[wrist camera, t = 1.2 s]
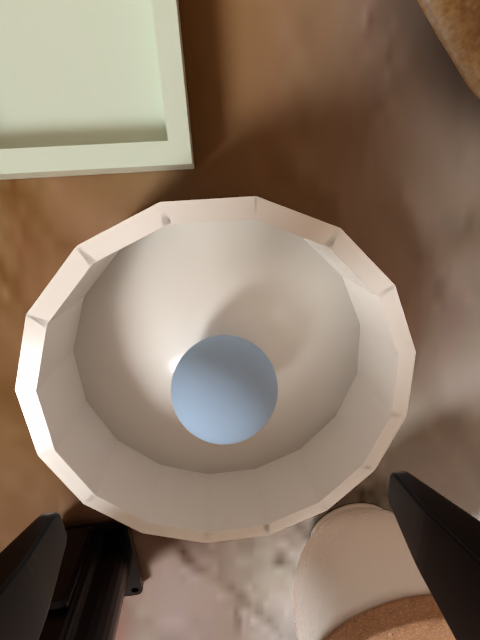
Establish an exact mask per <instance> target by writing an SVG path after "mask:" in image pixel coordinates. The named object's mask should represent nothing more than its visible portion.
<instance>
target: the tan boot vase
mask: <svg viewBox="0 0 480 640" xmlns="http://www.w3.org/2000/svg"><path fill="white" fill-rule="evenodd" d="M417 2H418V3H419V5H420V7H421V9H422V10H423V12H424V14H425V16H426V17H427V19H428V21H429V23H430V25H431V26H432V28H433V30H434V32H435V33H436V35H437V37H438V39H439V40H440V42H441V43H442V45H443V46H444V48H445V50H446V51H447V53H448V54H449V56H450V58H451V59H452V61H453V63H454V64H455V66H456V68H457V69H458V71H459V73H460V74H461V76H462V78H463V79H464V81H465V82H466V84H467V85H468V87H469V88H470V90H471V91H472V92H473V93H474V94H475V96H476V97H477V98H478V99H479V100H480V0H417Z"/></svg>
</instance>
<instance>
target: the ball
mask: <svg viewBox="0 0 480 640" xmlns="http://www.w3.org/2000/svg"><path fill="white" fill-rule="evenodd" d="M277 397H278V383H277V377H276V373H275V370H274V368H273V365H272V363H271V362H270V360H269V358H268V357H267V356H266V354H265V353H264V352H263V351H262V350H261V349H260V348H259V347H258V346H256V345H255V344H253V343H252V342H250V341H248V340H246V339H243V338H240V337H237V336H231V335H219V336H213V337H209V338H206V339H204V340H202V341H200V342H198V343H196V344H195V345H194V346H192V347H191V348H190V349H189V350H188V351H187V352H186V353H185V354H184V355H183V356H182V358H181V359H180V360H179V362H178V364H177V366H176V368H175V371H174V373H173V377H172V381H171V399H172V404H173V408H174V410H175V413H176V415H177V417H178V419H179V420H180V422H181V423H182V424H183V425H184V427H185V428H186V429H187V430H188V431H189V432H190V433H192V434H193V435H194V436H196V437H198V438H200V439H201V440H204V441H206V442H209V443H214V444H223V445H224V444H234V443H238V442H241V441H244V440H246V439H248V438H250V437H252V436H253V435H255V434H256V433H257V432H259V431H260V430H261V429H262V428H263V427H264V426H265V425H266V423H267V422H268V420H269V419H270V417H271V415H272V413H273V411H274V408H275V406H276V401H277Z"/></svg>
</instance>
